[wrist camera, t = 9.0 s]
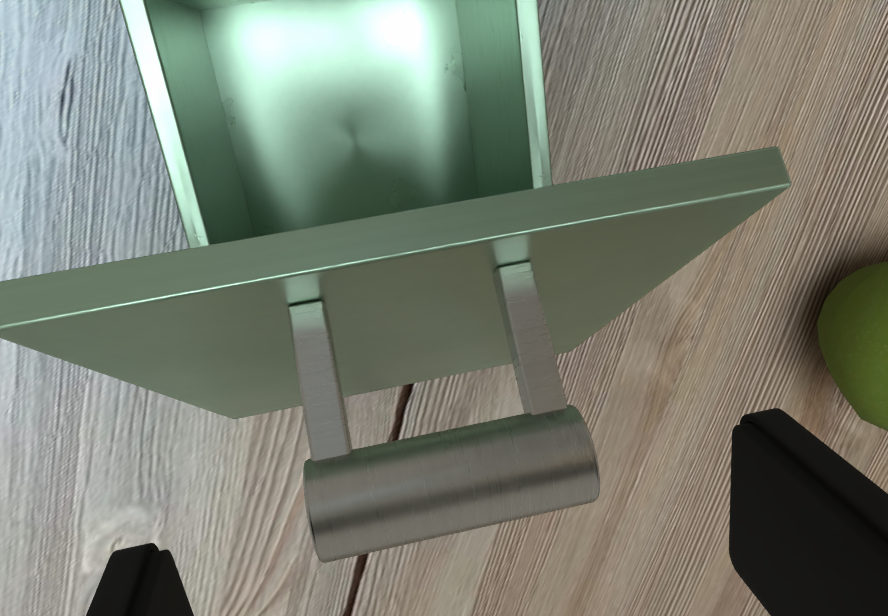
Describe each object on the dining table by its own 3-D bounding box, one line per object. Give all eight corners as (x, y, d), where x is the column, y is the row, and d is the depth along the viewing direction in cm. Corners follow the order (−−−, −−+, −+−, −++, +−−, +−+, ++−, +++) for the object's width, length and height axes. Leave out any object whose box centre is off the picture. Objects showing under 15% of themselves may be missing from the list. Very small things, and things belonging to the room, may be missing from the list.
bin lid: (-23, 283, 11) (-3, 650, 10) (779, 143, 12) (885, 447, 11) (229, 399, 27) (249, 542, 26) (566, 332, 28) (600, 465, 27)
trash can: (180, -5, 32) (107, -35, 21) (463, -44, 34) (531, -90, 23) (258, 303, 38) (232, 403, 27) (497, 259, 39) (565, 337, 28)
